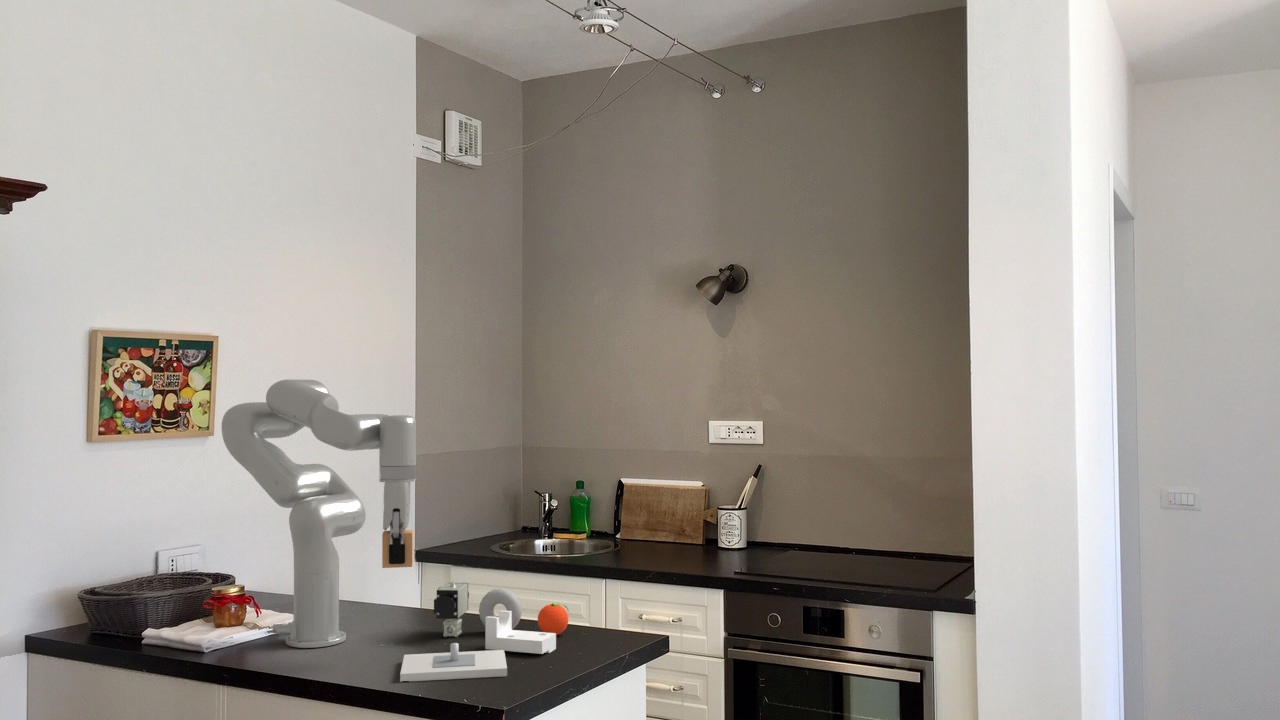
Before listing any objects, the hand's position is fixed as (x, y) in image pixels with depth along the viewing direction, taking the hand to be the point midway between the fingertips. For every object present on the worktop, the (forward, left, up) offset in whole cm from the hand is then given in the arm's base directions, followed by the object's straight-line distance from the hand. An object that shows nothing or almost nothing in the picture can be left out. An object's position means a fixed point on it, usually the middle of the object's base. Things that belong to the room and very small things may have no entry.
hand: (397, 560), depth 209 cm
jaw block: (0, 0, -1) cm, 1 cm away
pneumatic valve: (+11, +14, -20) cm, 27 cm away
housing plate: (+12, -14, -19) cm, 26 cm away
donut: (+22, +14, -20) cm, 32 cm away
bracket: (+25, -2, -20) cm, 32 cm away
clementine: (+34, +10, -20) cm, 40 cm away
